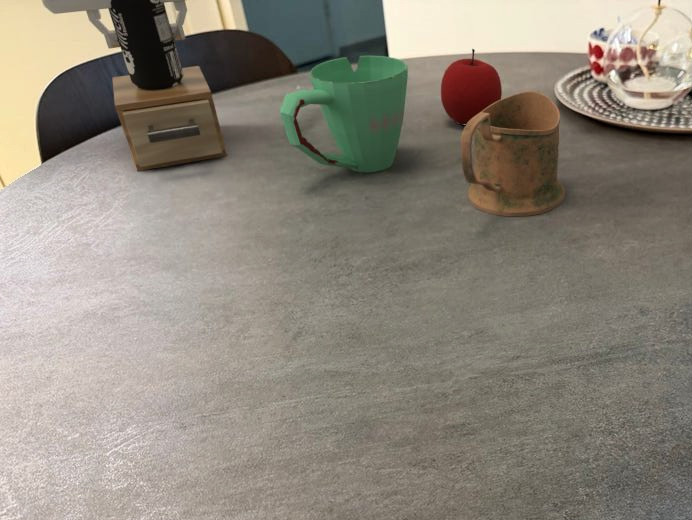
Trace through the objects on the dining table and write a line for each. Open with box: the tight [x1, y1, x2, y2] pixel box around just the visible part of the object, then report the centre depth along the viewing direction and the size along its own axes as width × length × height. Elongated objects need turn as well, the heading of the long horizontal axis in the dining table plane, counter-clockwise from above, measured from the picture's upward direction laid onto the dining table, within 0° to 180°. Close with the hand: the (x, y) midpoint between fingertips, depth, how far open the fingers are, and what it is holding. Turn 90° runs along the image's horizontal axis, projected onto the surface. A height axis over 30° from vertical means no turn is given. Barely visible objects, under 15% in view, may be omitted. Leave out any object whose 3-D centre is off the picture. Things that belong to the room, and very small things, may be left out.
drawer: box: [123, 99, 222, 167], centre depth 93 cm, size 17×10×7 cm, turn 24°
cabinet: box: [111, 65, 228, 172], centre depth 96 cm, size 14×12×9 cm
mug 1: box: [279, 55, 409, 173], centre depth 87 cm, size 18×12×12 cm
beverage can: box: [107, 0, 183, 90], centre depth 90 cm, size 7×7×12 cm
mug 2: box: [460, 90, 566, 217], centre depth 78 cm, size 12×18×12 cm, turn 152°
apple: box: [440, 48, 503, 125], centre depth 101 cm, size 9×9×10 cm
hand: (147, 43), depth 90 cm, fingers closed on beverage can, 6 cm apart
